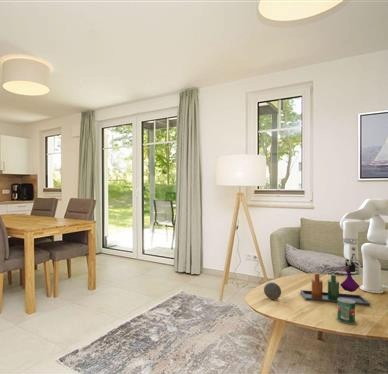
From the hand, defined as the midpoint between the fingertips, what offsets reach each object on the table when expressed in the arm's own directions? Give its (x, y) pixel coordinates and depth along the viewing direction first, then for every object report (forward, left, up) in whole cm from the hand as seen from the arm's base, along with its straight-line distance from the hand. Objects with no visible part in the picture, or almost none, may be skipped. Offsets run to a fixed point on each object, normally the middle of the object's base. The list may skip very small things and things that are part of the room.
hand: (350, 270), depth 185 cm
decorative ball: (+45, +8, -19) cm, 50 cm away
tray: (+9, 0, -19) cm, 21 cm away
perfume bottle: (0, -1, -13) cm, 13 cm away
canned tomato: (+12, +30, -19) cm, 38 cm away
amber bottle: (+18, 0, -19) cm, 26 cm away
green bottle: (+9, 0, -19) cm, 21 cm away
